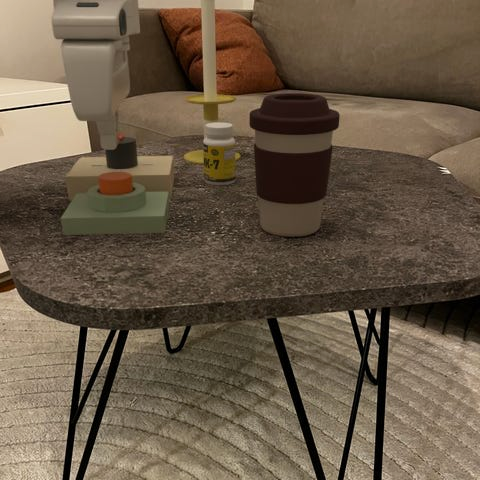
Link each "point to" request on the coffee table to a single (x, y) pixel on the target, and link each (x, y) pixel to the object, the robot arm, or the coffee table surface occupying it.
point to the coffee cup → (292, 161)
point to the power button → (115, 183)
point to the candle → (208, 78)
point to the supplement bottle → (219, 154)
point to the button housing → (116, 212)
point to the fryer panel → (145, 173)
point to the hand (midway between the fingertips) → (110, 147)
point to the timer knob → (122, 154)
